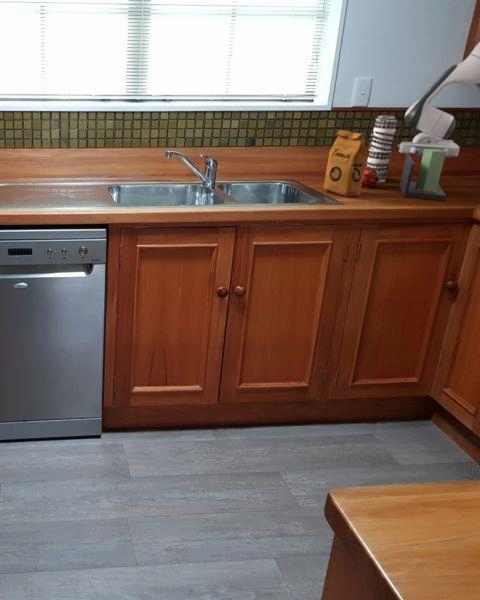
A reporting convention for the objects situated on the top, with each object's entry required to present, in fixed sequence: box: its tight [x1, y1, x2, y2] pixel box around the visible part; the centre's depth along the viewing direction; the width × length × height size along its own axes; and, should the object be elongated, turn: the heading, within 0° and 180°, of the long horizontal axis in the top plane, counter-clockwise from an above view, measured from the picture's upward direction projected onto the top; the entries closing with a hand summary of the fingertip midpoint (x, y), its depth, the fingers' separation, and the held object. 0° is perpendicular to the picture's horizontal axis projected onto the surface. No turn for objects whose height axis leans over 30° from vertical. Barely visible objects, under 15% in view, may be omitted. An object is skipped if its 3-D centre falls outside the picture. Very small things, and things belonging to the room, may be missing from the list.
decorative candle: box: [365, 114, 398, 183], centre depth 242 cm, size 9×9×25 cm
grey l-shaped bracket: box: [399, 154, 447, 202], centre depth 223 cm, size 13×22×12 cm, turn 158°
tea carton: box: [415, 149, 446, 191], centre depth 219 cm, size 5×5×14 cm
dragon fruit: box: [361, 165, 380, 189], centre depth 234 cm, size 8×8×12 cm
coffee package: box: [322, 129, 367, 198], centre depth 218 cm, size 10×12×22 cm
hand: (430, 152), depth 228 cm, fingers open, 8 cm apart
